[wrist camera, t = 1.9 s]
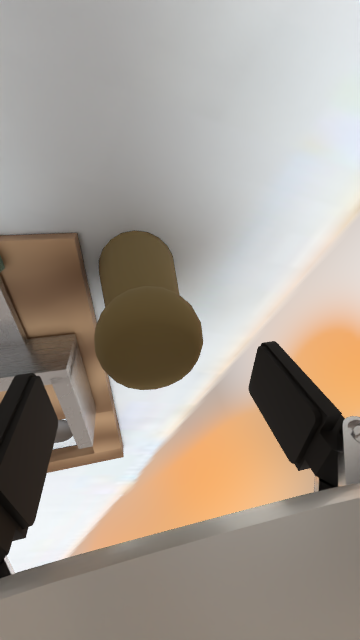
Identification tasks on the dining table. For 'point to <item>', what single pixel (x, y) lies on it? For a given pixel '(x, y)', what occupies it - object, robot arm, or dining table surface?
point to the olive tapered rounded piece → (144, 315)
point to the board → (61, 329)
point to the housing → (48, 368)
